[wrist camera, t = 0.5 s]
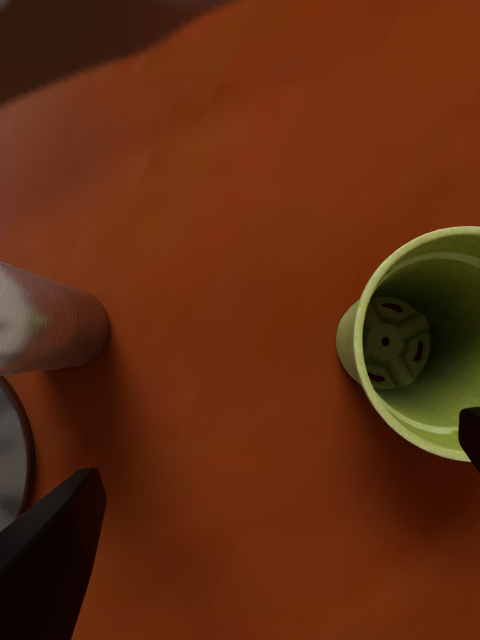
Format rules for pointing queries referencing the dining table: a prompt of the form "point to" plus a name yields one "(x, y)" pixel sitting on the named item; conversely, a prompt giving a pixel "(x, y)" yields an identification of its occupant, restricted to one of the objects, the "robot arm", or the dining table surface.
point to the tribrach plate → (14, 456)
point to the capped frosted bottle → (46, 323)
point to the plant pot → (420, 338)
